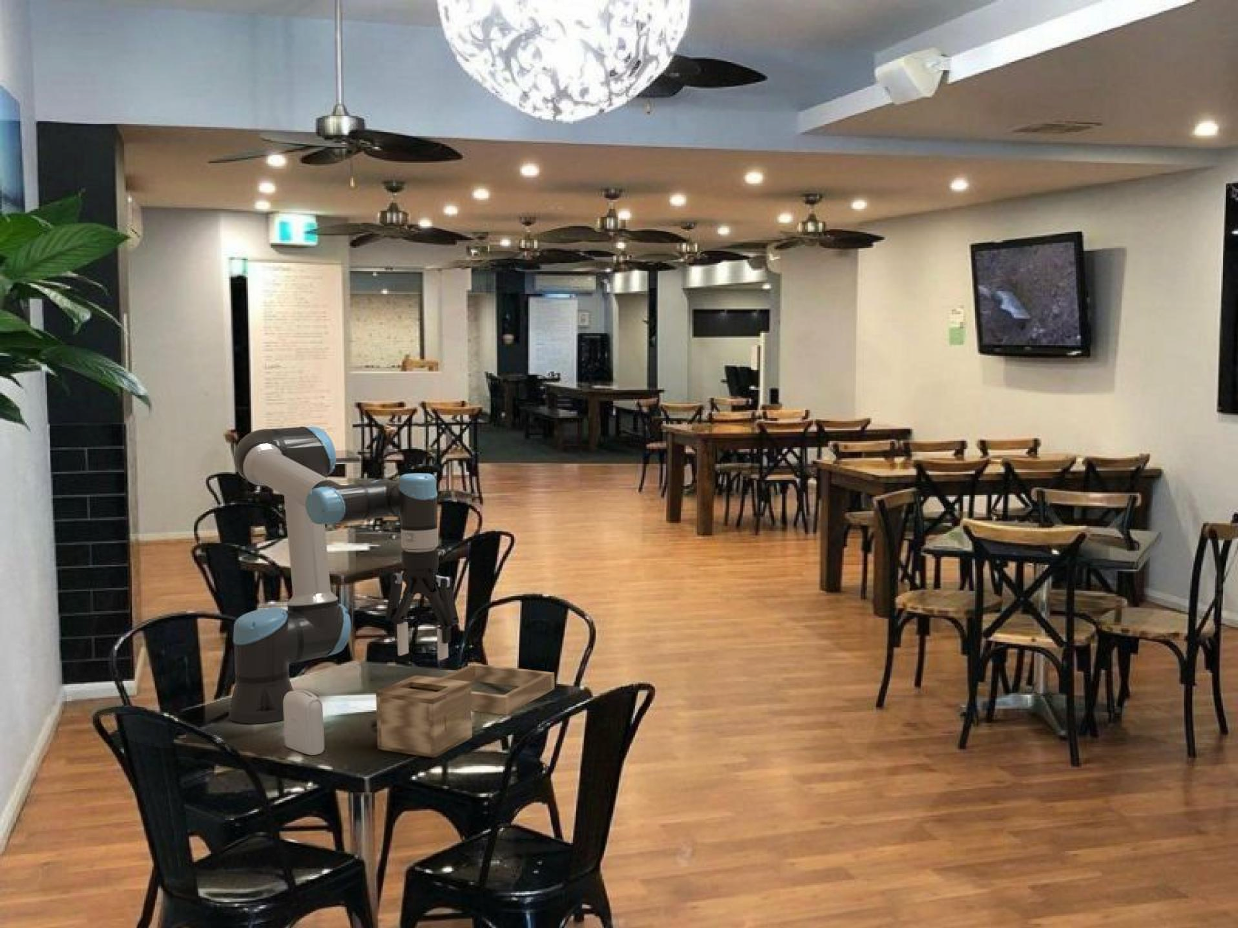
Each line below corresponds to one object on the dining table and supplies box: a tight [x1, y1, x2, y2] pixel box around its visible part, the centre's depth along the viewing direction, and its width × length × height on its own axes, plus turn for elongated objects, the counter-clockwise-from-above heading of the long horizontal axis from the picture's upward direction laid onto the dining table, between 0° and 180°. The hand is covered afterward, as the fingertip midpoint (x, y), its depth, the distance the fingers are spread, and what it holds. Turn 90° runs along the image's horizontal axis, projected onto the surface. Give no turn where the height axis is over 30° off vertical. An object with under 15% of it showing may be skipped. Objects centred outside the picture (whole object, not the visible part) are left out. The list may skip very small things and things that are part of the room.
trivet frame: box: [441, 663, 555, 716], centre depth 283 cm, size 23×23×4 cm
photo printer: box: [283, 689, 325, 756], centre depth 245 cm, size 10×4×12 cm, turn 47°
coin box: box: [375, 674, 473, 759], centre depth 248 cm, size 14×14×12 cm
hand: (423, 656), depth 247 cm, fingers open, 9 cm apart
